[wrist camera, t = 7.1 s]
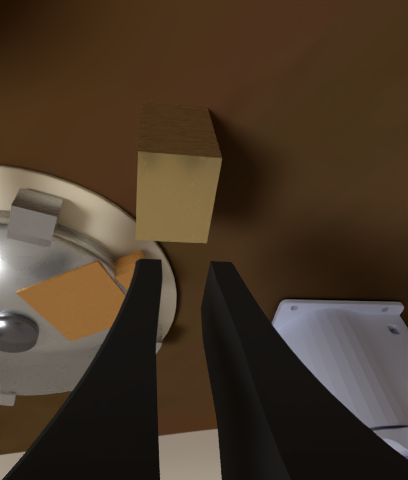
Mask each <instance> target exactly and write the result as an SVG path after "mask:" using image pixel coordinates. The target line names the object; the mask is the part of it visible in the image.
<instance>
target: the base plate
mask: <svg viewBox="0 0 408 480" xmlns="http://www.w3.org/2000/svg"><path fill="white" fill-rule="evenodd" d="M20 188H23V189H26V190H30V191H34V192H37V193H41V194H45V195H48V196H52V197H56V198H60V199H63V202H62V206H61V210H60V214H59V219H58V224H60V225H63V226H65V227H68V228H70V229H72V230H75V231H77V232H79V233H81V234H82V235H84V236H86V237H88V238H90V239H92V240H93V241H95V242H96V243H98V244H99V245H100V246H102V247H103V248H105V249H106V250H107V251H108V252H110V253H111V254H112V255H113V256H114V257H115V258H117V259H118V258H120V257H123V256H126V255H128V254H131V253H134V252H136V251H139V250H142V251H143V253H144V254H145V255H146V257H147V258H148V259H161V260H162V274H163V280H162V290H161V300H160V309H159V319H158V325H162V340H163V339H164V337H165V336H166V334H167V333H168V331H169V329H170V327H171V324H172V322H173V319H174V315H175V311H176V298H177V294H176V285H175V279H174V275H173V272H172V269H171V266H170V263H169V261H168V260H167V258H166V256H165V254H164V252H163V250H162V248H161V247H160V246H159V244H158V243H157V242H156V241H146V240H135V238H136V219H135V218H133V217H132V216H131V215H130V214H128V213H127V212H126V211H124V210H123V209H122V208H121V207H119V206H118V205H116V204H114V203H113V202H111V201H110V200H108V199H106V198H105V197H103V196H101V195H100V194H98V193H96V192H94V191H92V190H89V189H87V188H85V187H83V186H81V185H79V184H77V183H74V182H72V181H69V180H66V179H63V178H60V177H57V176H54V175H51V174H49V173H45V172H40V171H36V170H32V169H28V168H23V167H19V166H11V165H3V164H0V211H2V212H10V210H11V205H12V203H13V201H14V199H15V197H16V195H17V193H18V191H19V189H20Z"/></svg>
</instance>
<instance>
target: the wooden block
mask: <svg viewBox="0 0 408 480" xmlns="http://www.w3.org/2000/svg"><path fill="white" fill-rule="evenodd" d="M221 163H222V155H221V152H220V149H219V145H218V142H217V138H216V135H215V131H214V128H213V124H212V121H211V118H210V114H209V111H208V108H204V107H194V106H184V105H174V104H164V103H155V102H145V101H142V109H141V122H140V135H139V148H138V175H137V207H136V238H135V240H146V241H169V242H192V243H207V239H208V233H209V228H210V223H211V217H212V212H213V206H214V201H215V195H216V190H217V184H218V179H219V174H220V168H221Z"/></svg>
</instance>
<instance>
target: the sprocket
mask: <svg viewBox="0 0 408 480" xmlns="http://www.w3.org/2000/svg"><path fill="white" fill-rule="evenodd" d="M62 202H63V199H60V198H56V197H52V196H48V195H45V194H41V193H37V192H34V191H30V190H26V189H23V188H20V189H19V191H18V193H17V195H16V197H15V199H14V201H13V203H12V205H11V210H10V212H2V211H0V405H8V406H13V405H14V402H15V399H16V395H45V394H53V393H60V392H65V391H73V389H74V388H75V386H76V385H77V384H78V382H79V381H80V379H81V378H82V376H83V375H84V373H85V371H86V370H87V368H88V367H89V365H90V364H91V362H92V360H93V359H94V357H95V355H96V354H97V352H98V350H99V349H100V347H101V345H102V343H103V341H104V340H105V338H106V336H107V334H108V332H109V330H110V328H111V326H112V324H113V323H114V321H115V319H116V317H117V314H118V312H119V310H120V308H121V305H122V303H123V301H124V299H125V296H126V294H127V291H128V289H129V286H130V283H131V280H132V277H133V273H134V269H135V263H136V261H137V260H139V259H148V258H147V257H146V255H145V254H144V253H143V251H142V250H139V251H136V252H134V253H131V254H128V255H126V256H123V257H120V258H118V259H117V258H115V257H114V256H113V255H112V254H111V253H110V252H108V251H107V250H106V249H105V248H103V247H102V246H100V245H99V244H98V243H96V242H95V241H93V240H92V239H90V238H88V237H86V236H84V235H82V234H81V233H79V232H77V231H75V230H72V229H70V228H68V227H65V226H63V225H60V224H58V219H59V214H60V210H61V206H62ZM161 345H162V325H158V328H157V339H156V354H157V352H158V350H159V349H160V347H161Z"/></svg>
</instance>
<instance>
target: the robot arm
mask: <svg viewBox="0 0 408 480" xmlns="http://www.w3.org/2000/svg"><path fill="white" fill-rule="evenodd" d="M162 280H163V274H162V260H161V259H139V260H137V261H136V263H135V269H134V273H133V277H132V280H131V283H130V286H129V289H128V291H127V294H126V296H125V299H124V301H123V303H122V305H121V308H120V310H119V312H118V314H117V317H116V319H115V321H114V323H113V324H112V326H111V328H110V330H109V332H108V334H107V336H106V338H105V340H104V341H103V343H102V345H101V347H100V349H99V350H98V352H97V354H96V355H95V357H94V359H93V360H92V362H91V364H90V365H89V367H88V368H87V370H86V371H85V373H84V375H83V376H82V378H81V379H80V381H79V382H78V384H77V385H76V386H75V388H74V389H73V391H72V392H71V394H70V395H69V397H68V398H67V400H66V401H65V402H64V404H63V405H62V406H61V408H60V409H59V411H58V412H57V413H56V415H55V416H54V417H53V418H52V420H51V421H50V422H49V424H48V425H47V426H46V427H45V429H44V430H43V431H42V432H41V434H40V435H39V436H38V437H37V439H36V440H35V441H34V443H33V444H32V445H31V446H30V448H29V449H28V450H27V451H26V453H25V454H24V455H23V456H22V457H21V459H20V460H19V461H18V462H17V463H16V464H15V466H14V467H13V468H12V469H11V470H10V471H9V472H8V474H7V475H6V476H5V477H4V478H3V479H2V480H160V471H159V470H160V469H159V443H158V416H157V379H156V339H157V328H158V319H159V309H160V300H161V290H162ZM403 309H404V306H403V304H402V303H401V302H382V301H338V300H294V299H286V300H283V301H282V302H280V304H279V306H278V309H277V311H276V314H275V316H274V319H273V321H272V324H271V322H270V321H269V319H268V318H267V317H266V315H265V314H264V312H263V311H262V309H261V308H260V307H259V305H258V304H257V302H256V301H255V299H254V298H253V296H252V294H251V293H250V291H249V290H248V288H247V287H246V285H245V283H244V282H243V280H242V278H241V277H240V275H239V273H238V272H237V270H236V268H235V266H234V265H233V264H232V263H231V262H215V261H211V262H210V267H209V272H208V277H207V281H206V286H205V291H204V296H203V301H202V306H201V317H202V334H203V343H204V349H205V355H206V361H207V367H208V372H209V378H210V383H211V389H212V394H213V400H214V406H215V411H216V419H217V426H218V437H219V449H220V460H221V475H222V480H408V328H407V326H406V325H405V323H404V321H403V320H402V318H401V317H400V314H401V313H402V311H403Z"/></svg>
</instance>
